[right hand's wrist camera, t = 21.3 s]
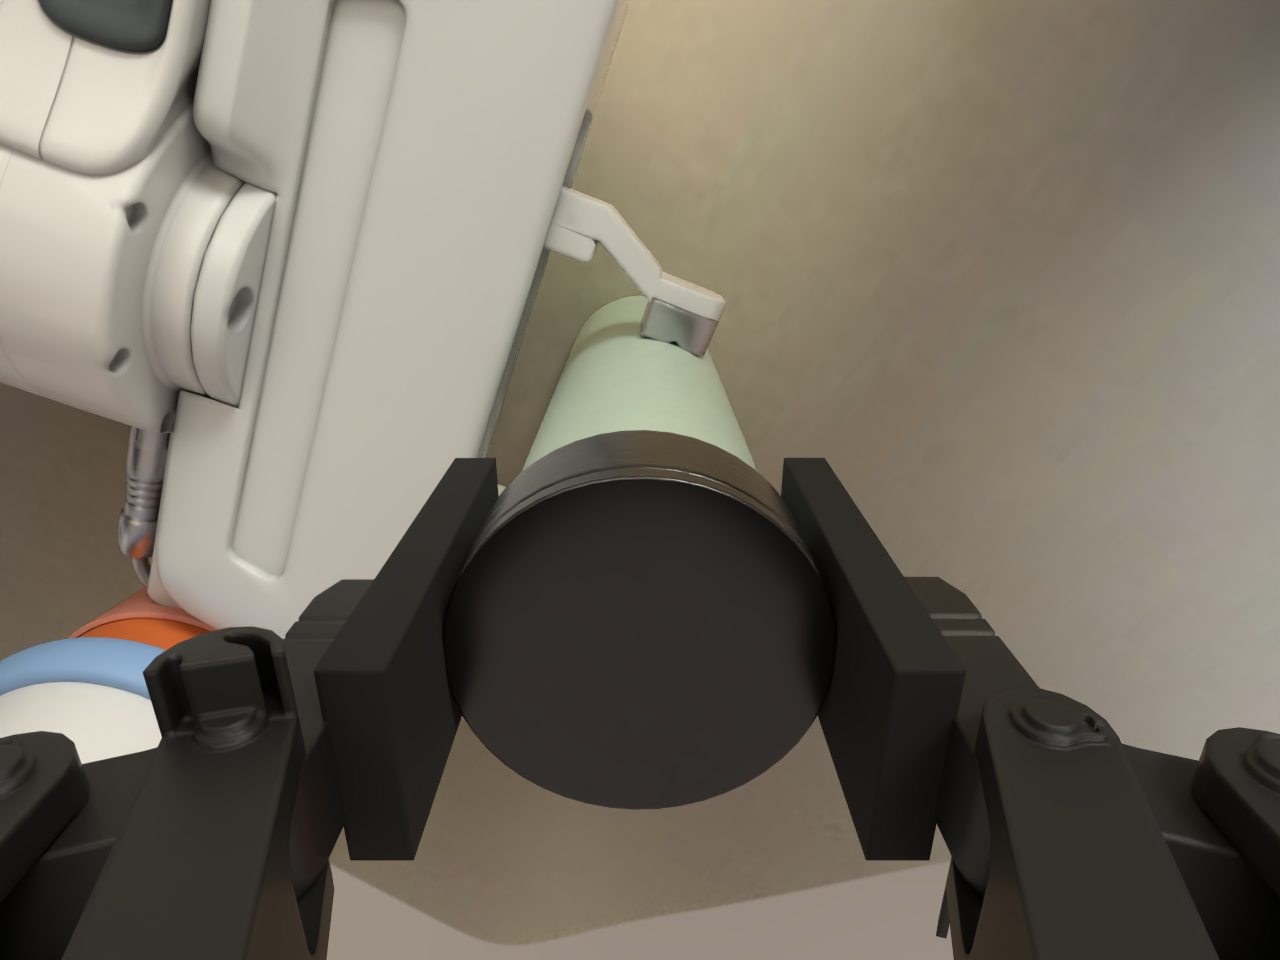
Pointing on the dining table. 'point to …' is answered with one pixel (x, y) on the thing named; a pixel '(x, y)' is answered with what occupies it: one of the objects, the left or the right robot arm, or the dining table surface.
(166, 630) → the cup with straw
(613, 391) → the pale green bottle
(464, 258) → the left robot arm
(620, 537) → the lid
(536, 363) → the dining table surface
